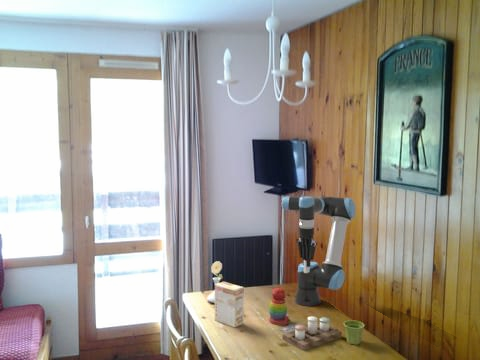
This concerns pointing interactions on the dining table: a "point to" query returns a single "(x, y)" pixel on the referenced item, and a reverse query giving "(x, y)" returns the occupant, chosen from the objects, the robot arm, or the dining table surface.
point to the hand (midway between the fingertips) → (306, 272)
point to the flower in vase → (215, 269)
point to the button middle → (312, 325)
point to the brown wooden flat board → (312, 338)
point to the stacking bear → (278, 307)
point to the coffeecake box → (229, 304)
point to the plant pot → (353, 331)
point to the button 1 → (300, 332)
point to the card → (289, 328)
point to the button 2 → (324, 324)
